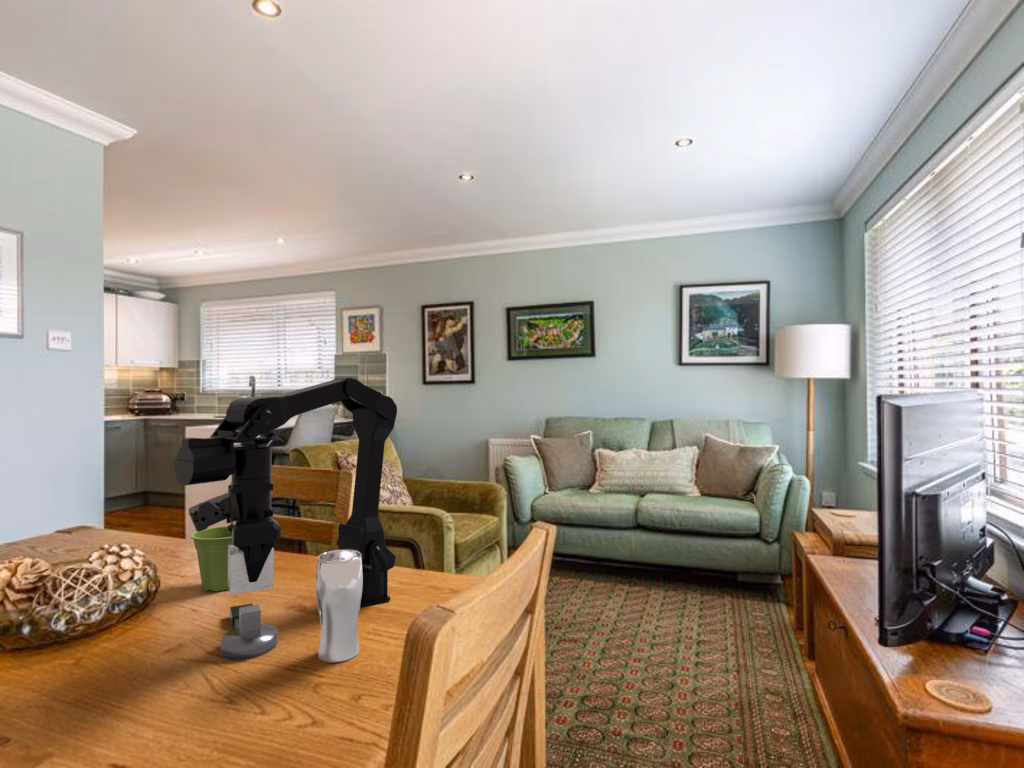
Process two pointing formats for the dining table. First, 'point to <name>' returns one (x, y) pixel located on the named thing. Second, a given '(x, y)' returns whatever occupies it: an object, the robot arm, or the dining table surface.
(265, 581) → the cube with round boss
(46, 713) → the dining table surface
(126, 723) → the dining table surface
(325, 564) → the beer glass
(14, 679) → the dining table surface
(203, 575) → the plant pot
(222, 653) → the ratchet
